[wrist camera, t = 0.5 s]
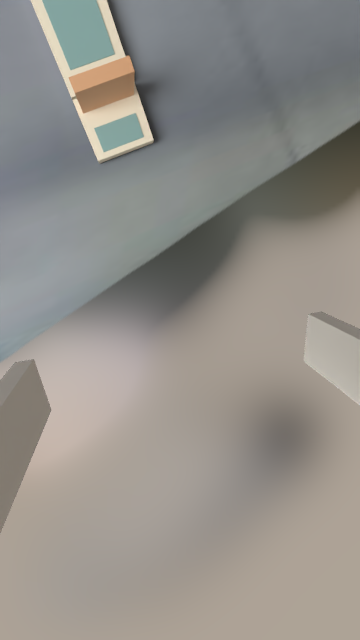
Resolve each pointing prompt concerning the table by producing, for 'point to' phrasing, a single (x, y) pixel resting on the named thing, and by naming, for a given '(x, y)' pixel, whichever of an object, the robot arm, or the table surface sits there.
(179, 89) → the table surface
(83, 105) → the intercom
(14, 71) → the table surface
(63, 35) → the cream tablet with screen
